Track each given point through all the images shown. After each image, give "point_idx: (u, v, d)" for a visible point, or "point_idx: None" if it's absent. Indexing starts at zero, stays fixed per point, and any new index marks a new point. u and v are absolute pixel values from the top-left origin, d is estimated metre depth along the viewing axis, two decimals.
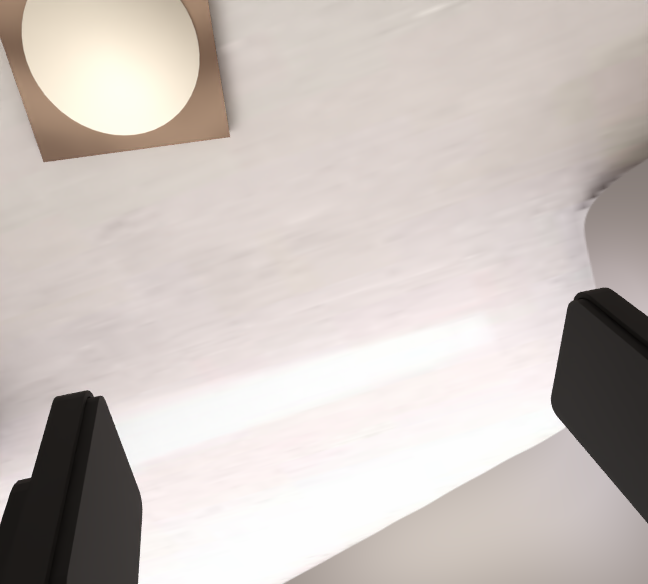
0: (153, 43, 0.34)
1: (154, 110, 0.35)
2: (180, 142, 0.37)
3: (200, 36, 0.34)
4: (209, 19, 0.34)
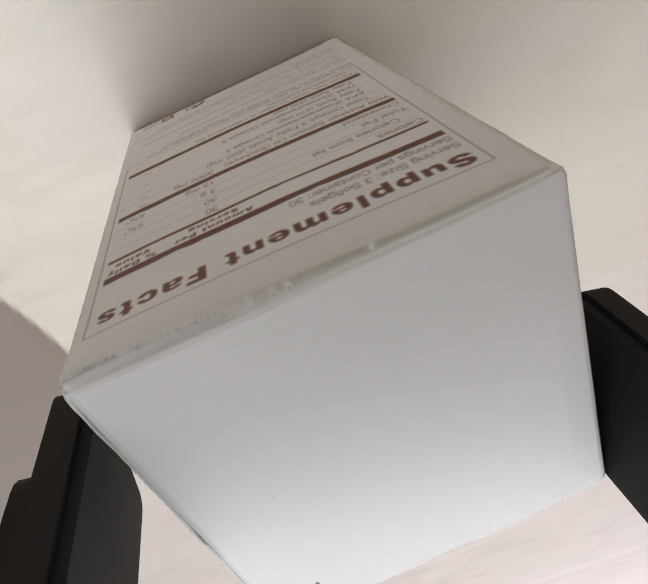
0: None
1: None
2: None
3: None
4: None
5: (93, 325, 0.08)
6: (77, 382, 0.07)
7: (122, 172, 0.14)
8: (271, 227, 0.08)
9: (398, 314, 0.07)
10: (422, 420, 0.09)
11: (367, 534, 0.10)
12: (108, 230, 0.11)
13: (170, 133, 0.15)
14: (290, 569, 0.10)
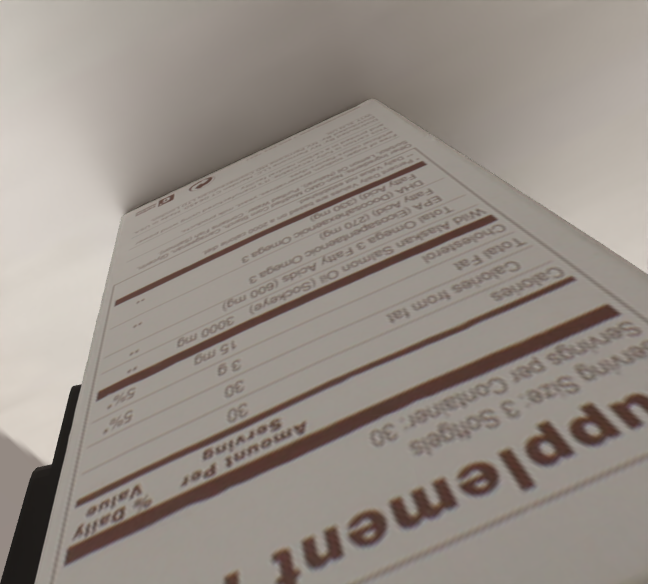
0: None
1: None
2: None
3: None
4: None
5: None
6: None
7: (106, 288, 0.10)
8: (348, 498, 0.05)
9: None
10: None
11: None
12: (81, 412, 0.07)
13: (170, 228, 0.12)
14: None
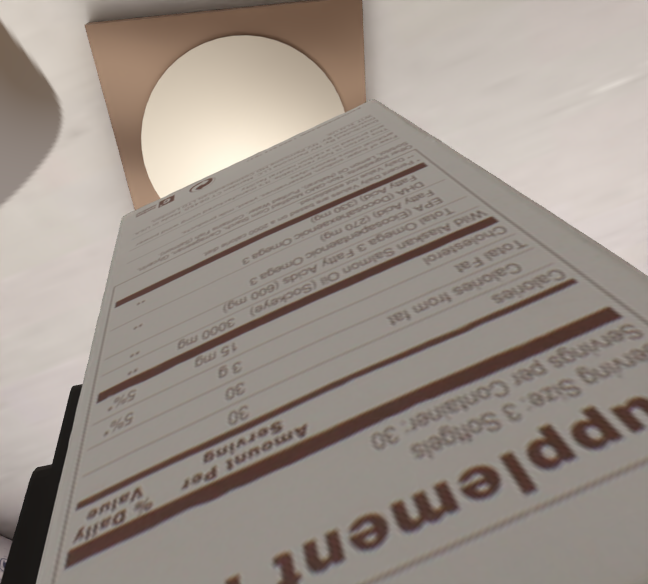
0: None
1: None
2: None
3: None
4: None
5: None
6: None
7: (107, 290, 0.10)
8: (349, 501, 0.05)
9: None
10: None
11: None
12: (82, 414, 0.07)
13: (170, 229, 0.12)
14: None
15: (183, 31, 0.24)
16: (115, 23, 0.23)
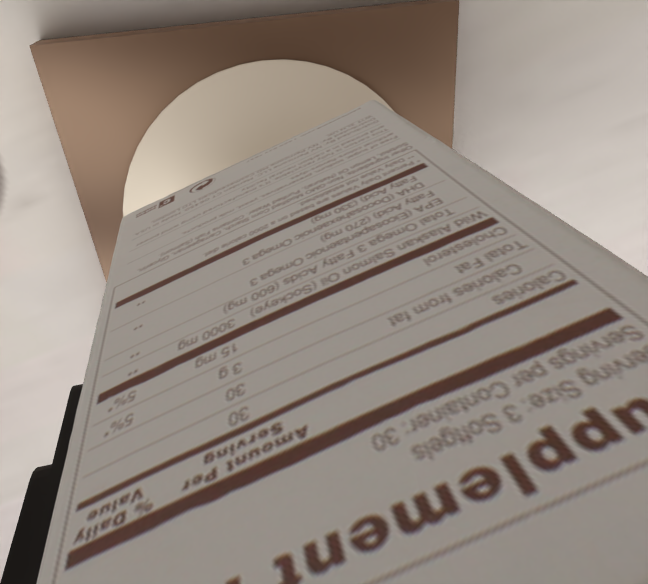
0: None
1: None
2: None
3: None
4: None
5: None
6: None
7: (107, 290, 0.10)
8: (350, 503, 0.05)
9: None
10: None
11: None
12: (82, 415, 0.07)
13: (170, 229, 0.12)
14: None
15: (186, 54, 0.15)
16: (79, 42, 0.15)
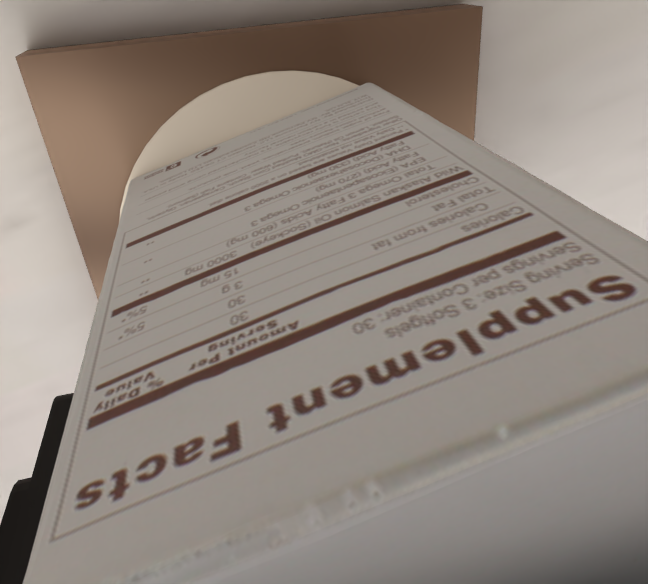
0: None
1: None
2: None
3: None
4: None
5: (69, 510, 0.05)
6: None
7: (118, 235, 0.11)
8: (331, 369, 0.06)
9: (528, 524, 0.05)
10: None
11: None
12: (97, 326, 0.08)
13: (177, 187, 0.13)
14: None
15: (187, 65, 0.14)
16: (69, 53, 0.13)
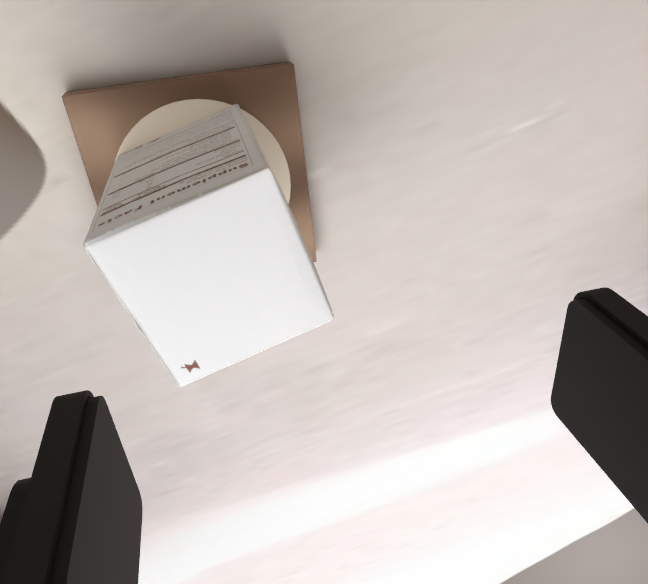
0: None
1: None
2: None
3: (292, 169, 0.33)
4: (302, 152, 0.32)
5: (96, 227, 0.20)
6: (89, 242, 0.19)
7: (110, 175, 0.26)
8: (169, 191, 0.21)
9: (212, 221, 0.20)
10: (231, 272, 0.21)
11: (215, 333, 0.22)
12: (102, 198, 0.23)
13: (138, 155, 0.27)
14: (180, 349, 0.22)
15: (144, 98, 0.29)
16: (87, 94, 0.28)
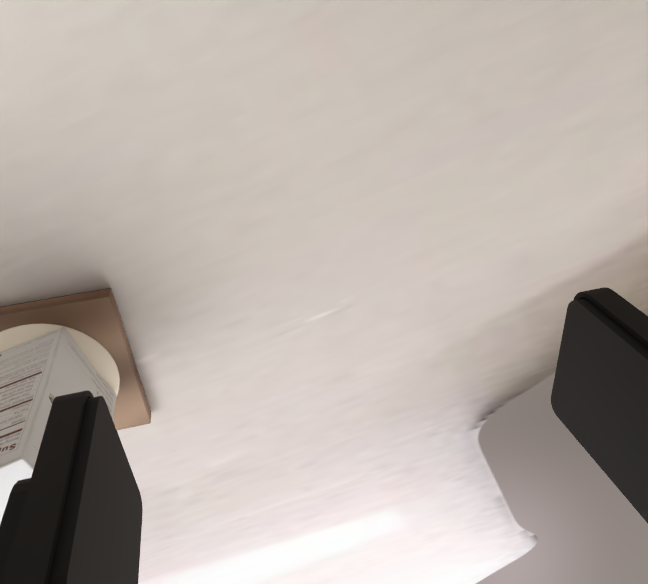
0: None
1: None
2: None
3: (119, 363, 0.41)
4: (125, 352, 0.41)
5: None
6: None
7: None
8: None
9: None
10: None
11: None
12: None
13: None
14: None
15: None
16: None
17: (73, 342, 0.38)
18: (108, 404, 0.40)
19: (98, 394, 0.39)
